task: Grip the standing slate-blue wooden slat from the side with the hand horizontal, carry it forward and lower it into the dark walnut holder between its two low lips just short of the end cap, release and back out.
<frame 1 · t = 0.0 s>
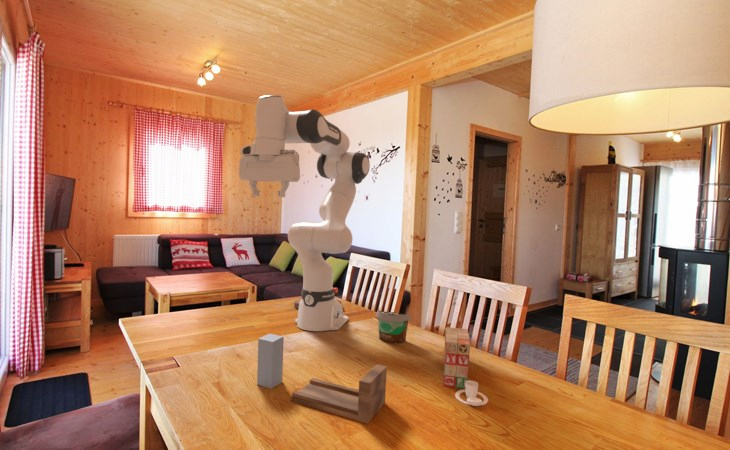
hand: (268, 196, 119), 48 cm above the table, tool pointing down, fingers open, 8 cm apart
teacup and saucer: (461, 402, 98), on the table, touching stack of blocks
slat: (269, 383, 103), on the table
stack of blocks: (454, 371, 115), on the table, touching teacup and saucer
food container: (389, 341, 137), on the table
holder: (338, 402, 94), on the table
plant: (319, 307, 175), on the table, touching arm
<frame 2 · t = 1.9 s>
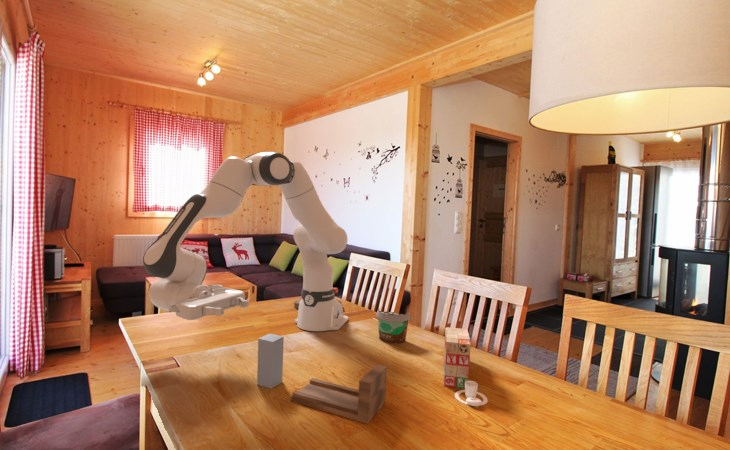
hand: (234, 308, 106), 18 cm above the table, tool horizontal, fingers open, 8 cm apart
nothing on the table moved.
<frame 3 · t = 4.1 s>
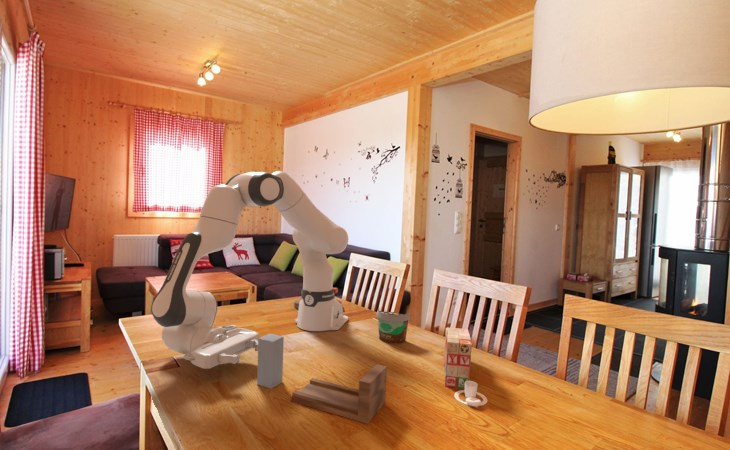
hand: (250, 353, 105), 6 cm above the table, tool horizontal, fingers open, 8 cm apart
nothing on the table moved.
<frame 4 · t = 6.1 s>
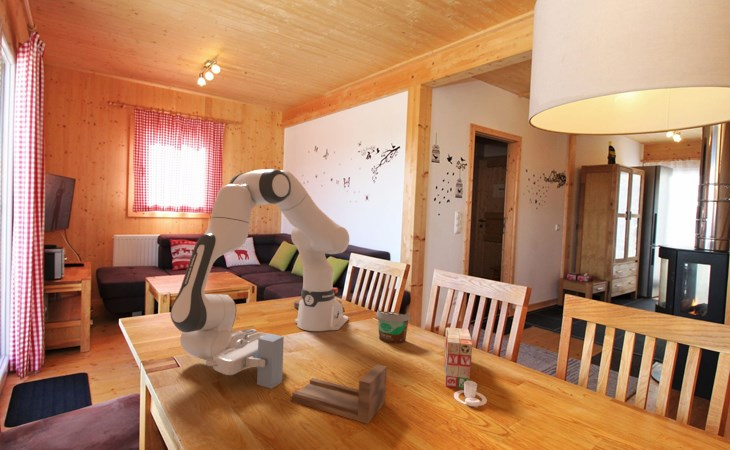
hand: (273, 359, 102), 7 cm above the table, tool horizontal, fingers closed on slat, 4 cm apart
slat: (269, 383, 103), on the table, touching gripper
everything else where it was.
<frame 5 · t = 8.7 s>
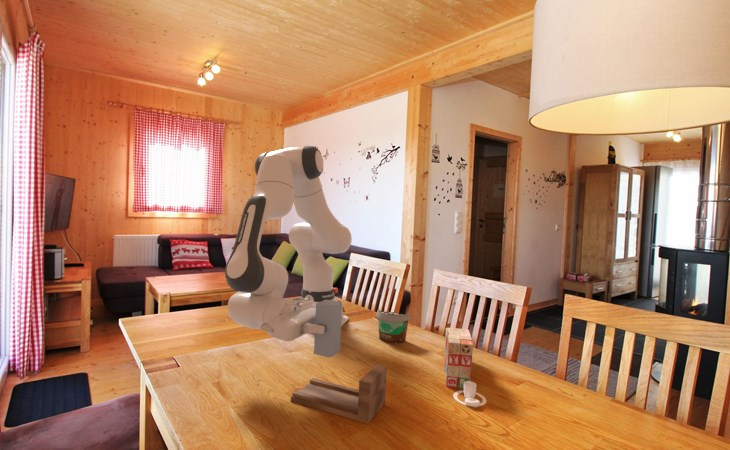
hand: (331, 326, 94), 18 cm above the table, tool horizontal, fingers closed on slat, 4 cm apart
teacup and saucer: (459, 402, 98), on the table
slat: (327, 352, 94), point 12 cm above the table, touching gripper
stack of blocks: (455, 372, 115), on the table
everything else where it was.
when the fingers open (9 cm above the table, at t = 11.2 s): slat drops 1 cm, resting on holder.
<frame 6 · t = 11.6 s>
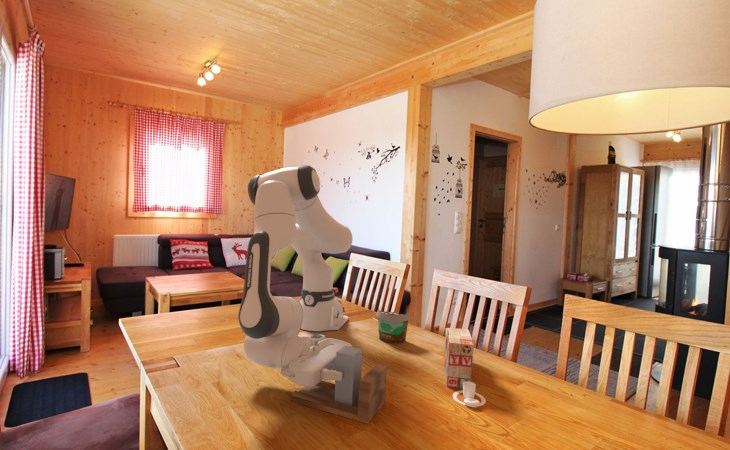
hand: (352, 368, 92), 9 cm above the table, tool horizontal, fingers open, 8 cm apart
teacup and saucer: (458, 403, 98), on the table, touching stack of blocks
slat: (347, 400, 93), point 1 cm above the table, touching holder
stack of blocks: (456, 372, 114), on the table, touching teacup and saucer
everything else where it was.
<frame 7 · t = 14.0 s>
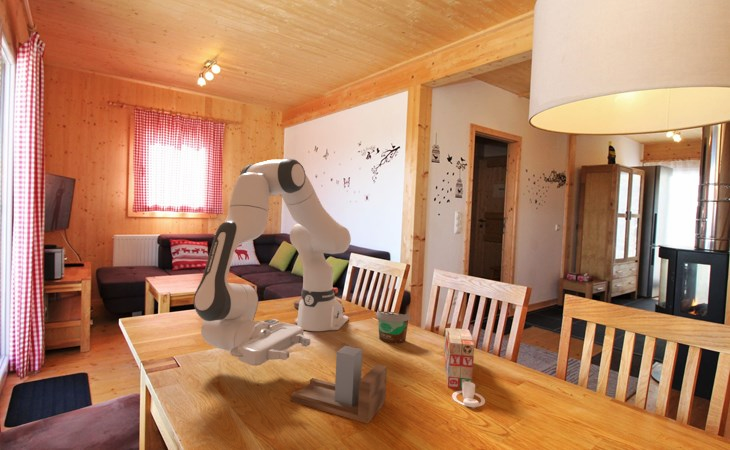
hand: (298, 348, 99), 10 cm above the table, tool horizontal, fingers open, 8 cm apart
nothing on the table moved.
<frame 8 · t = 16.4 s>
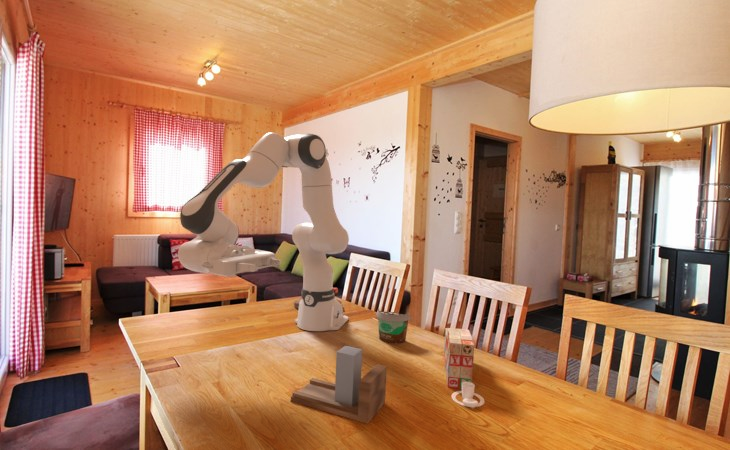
hand: (268, 265, 104), 30 cm above the table, tool horizontal, fingers open, 8 cm apart
nothing on the table moved.
at the end: slat inside the target area on the holder (0.2 cm from its centre), point 1.0 cm above the holder's base; slat tilted 0°; the gripper is holding nothing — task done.
